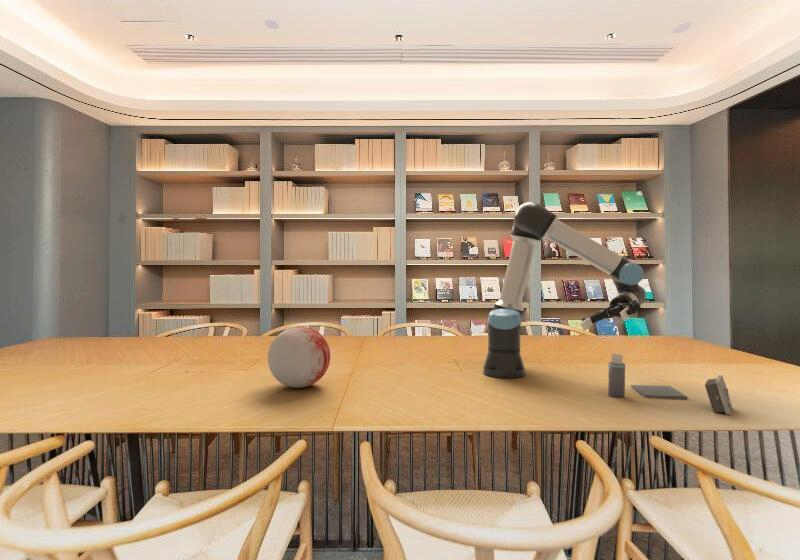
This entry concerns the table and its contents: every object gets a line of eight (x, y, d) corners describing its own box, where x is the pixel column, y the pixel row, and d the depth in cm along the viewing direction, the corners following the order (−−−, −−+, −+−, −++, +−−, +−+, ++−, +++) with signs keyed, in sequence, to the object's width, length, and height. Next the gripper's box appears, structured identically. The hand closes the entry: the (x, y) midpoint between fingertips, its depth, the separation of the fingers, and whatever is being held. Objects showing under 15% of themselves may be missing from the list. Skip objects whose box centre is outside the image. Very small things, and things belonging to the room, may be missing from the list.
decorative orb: (301, 376, 170) (301, 321, 170) (342, 384, 159) (342, 325, 158) (253, 389, 153) (252, 328, 152) (295, 399, 142) (295, 333, 141)
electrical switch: (729, 416, 127) (726, 381, 127) (707, 414, 130) (704, 380, 130) (732, 407, 134) (729, 375, 134) (710, 406, 137) (707, 374, 137)
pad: (644, 397, 144) (645, 394, 144) (630, 387, 156) (631, 384, 156) (687, 399, 142) (687, 396, 142) (669, 388, 154) (669, 386, 154)
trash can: (607, 396, 145) (608, 354, 144) (608, 392, 149) (609, 352, 149) (624, 398, 143) (625, 356, 142) (625, 394, 147) (626, 353, 146)
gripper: (663, 304, 160) (645, 323, 145) (595, 322, 177) (572, 340, 162) (654, 284, 160) (635, 300, 145) (587, 304, 178) (563, 320, 163)
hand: (602, 321), depth 154 cm, fingers open, 13 cm apart
